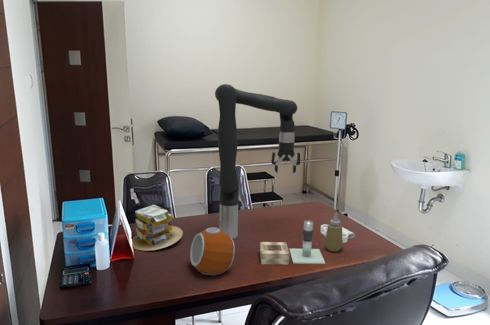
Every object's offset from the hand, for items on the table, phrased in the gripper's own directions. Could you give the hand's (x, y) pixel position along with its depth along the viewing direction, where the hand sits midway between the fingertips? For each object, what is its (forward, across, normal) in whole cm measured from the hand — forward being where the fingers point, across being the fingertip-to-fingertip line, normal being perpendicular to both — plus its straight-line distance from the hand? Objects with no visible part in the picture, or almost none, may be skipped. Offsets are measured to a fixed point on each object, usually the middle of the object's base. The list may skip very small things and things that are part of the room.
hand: (285, 172), depth 199 cm
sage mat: (+32, +8, -28) cm, 43 cm away
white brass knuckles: (+33, +27, -3) cm, 43 cm away
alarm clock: (+32, -34, -40) cm, 62 cm away
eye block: (+32, -7, -30) cm, 44 cm away
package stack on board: (+32, -62, -13) cm, 72 cm away
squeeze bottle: (+32, +22, -20) cm, 44 cm away
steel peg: (+32, +8, -28) cm, 43 cm away
